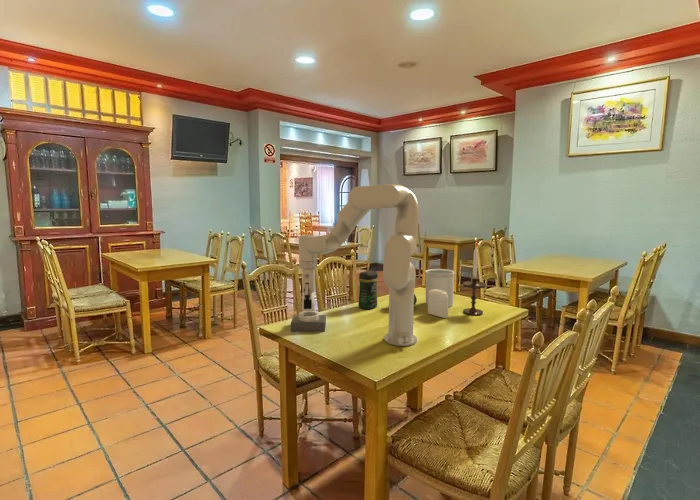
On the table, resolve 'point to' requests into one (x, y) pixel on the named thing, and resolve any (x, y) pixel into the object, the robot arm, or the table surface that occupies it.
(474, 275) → the candlestick
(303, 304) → the white cylinder
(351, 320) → the table surface
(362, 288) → the coffee jar
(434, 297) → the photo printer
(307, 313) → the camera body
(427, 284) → the utensil holder
